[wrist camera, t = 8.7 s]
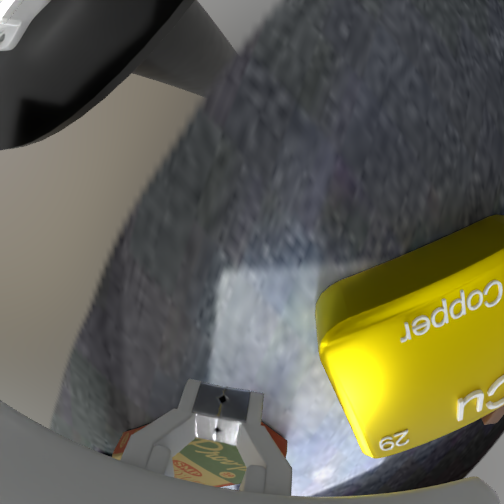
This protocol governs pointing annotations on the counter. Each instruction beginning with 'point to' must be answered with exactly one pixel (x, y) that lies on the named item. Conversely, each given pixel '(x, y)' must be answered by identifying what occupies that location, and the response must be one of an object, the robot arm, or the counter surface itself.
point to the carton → (207, 459)
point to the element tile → (418, 340)
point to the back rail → (493, 416)
